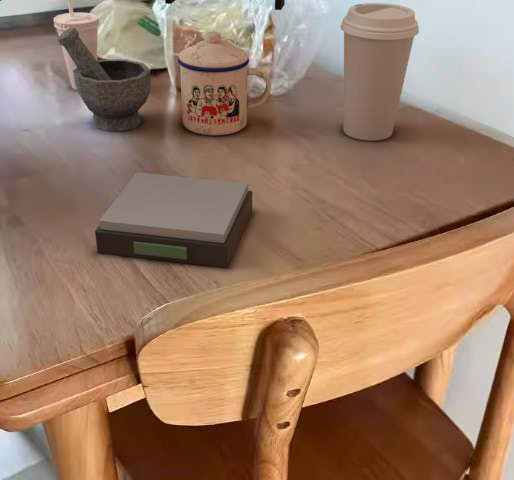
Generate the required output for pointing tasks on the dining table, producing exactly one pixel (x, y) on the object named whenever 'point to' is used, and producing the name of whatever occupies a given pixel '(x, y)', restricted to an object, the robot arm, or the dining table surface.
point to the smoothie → (87, 33)
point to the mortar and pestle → (108, 85)
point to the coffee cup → (375, 66)
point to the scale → (176, 220)
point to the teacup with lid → (216, 86)
